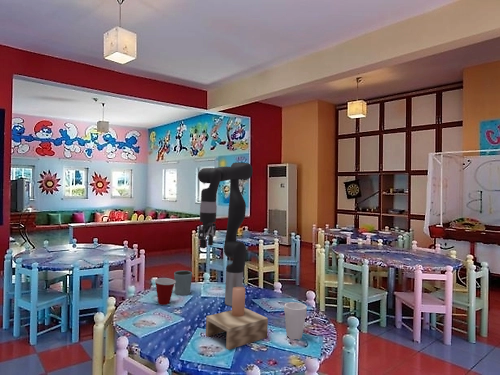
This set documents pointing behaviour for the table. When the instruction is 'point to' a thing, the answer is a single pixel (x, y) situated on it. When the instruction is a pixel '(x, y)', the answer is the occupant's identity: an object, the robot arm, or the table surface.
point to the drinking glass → (182, 282)
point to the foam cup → (295, 319)
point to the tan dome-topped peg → (238, 301)
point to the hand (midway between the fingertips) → (206, 246)
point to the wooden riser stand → (237, 327)
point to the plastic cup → (164, 290)
